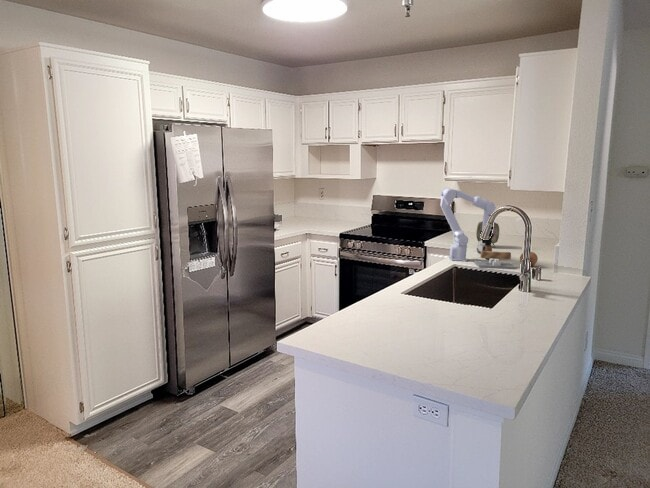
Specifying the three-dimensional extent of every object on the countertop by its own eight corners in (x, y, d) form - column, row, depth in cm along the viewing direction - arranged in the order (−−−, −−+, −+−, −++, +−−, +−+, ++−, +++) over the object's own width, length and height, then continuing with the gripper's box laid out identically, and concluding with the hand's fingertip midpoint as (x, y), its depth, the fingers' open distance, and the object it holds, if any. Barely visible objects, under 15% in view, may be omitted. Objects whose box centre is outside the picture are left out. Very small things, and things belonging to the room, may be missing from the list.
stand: (479, 267, 266) (479, 259, 265) (474, 262, 277) (474, 255, 277) (515, 269, 264) (516, 261, 263) (509, 264, 276) (509, 256, 275)
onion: (521, 269, 277) (516, 253, 279) (538, 266, 275) (533, 250, 277) (523, 267, 268) (519, 250, 270) (541, 263, 266) (536, 246, 268)
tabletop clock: (475, 247, 329) (478, 211, 325) (475, 245, 338) (477, 210, 333) (497, 248, 326) (501, 212, 321) (496, 246, 334) (499, 211, 330)
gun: (483, 261, 312) (484, 239, 314) (494, 258, 285) (494, 233, 287) (475, 261, 313) (476, 238, 314) (485, 257, 286) (486, 233, 287)
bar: (481, 258, 269) (482, 252, 268) (480, 256, 272) (480, 251, 271) (510, 259, 268) (511, 253, 267) (508, 258, 271) (509, 252, 270)
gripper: (498, 223, 274) (495, 246, 276) (491, 220, 288) (489, 242, 291) (485, 223, 275) (483, 246, 277) (479, 220, 289) (477, 242, 291)
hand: (485, 244), depth 284 cm, fingers open, 7 cm apart
